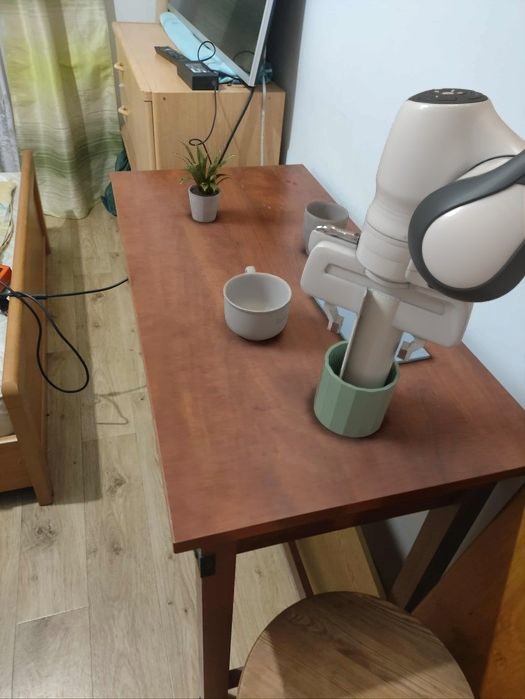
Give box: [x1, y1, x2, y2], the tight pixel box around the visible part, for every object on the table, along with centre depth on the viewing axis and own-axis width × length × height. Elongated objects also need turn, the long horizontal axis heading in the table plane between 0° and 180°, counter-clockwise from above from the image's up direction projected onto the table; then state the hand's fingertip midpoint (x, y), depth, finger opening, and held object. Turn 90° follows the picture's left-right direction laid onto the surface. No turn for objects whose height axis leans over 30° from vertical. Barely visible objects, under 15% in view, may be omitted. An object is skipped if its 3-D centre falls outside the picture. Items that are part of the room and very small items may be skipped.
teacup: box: [222, 265, 293, 341], centre depth 84 cm, size 14×11×8 cm
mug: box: [302, 200, 350, 256], centre depth 103 cm, size 12×9×10 cm
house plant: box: [171, 139, 239, 223], centre depth 109 cm, size 14×14×16 cm
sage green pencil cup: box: [313, 340, 401, 438], centre depth 70 cm, size 10×10×9 cm
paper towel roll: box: [339, 287, 404, 389], centre depth 67 cm, size 7×6×21 cm
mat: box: [313, 297, 431, 365], centre depth 89 cm, size 20×12×1 cm, turn 20°
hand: (368, 343), depth 65 cm, fingers open, 8 cm apart
